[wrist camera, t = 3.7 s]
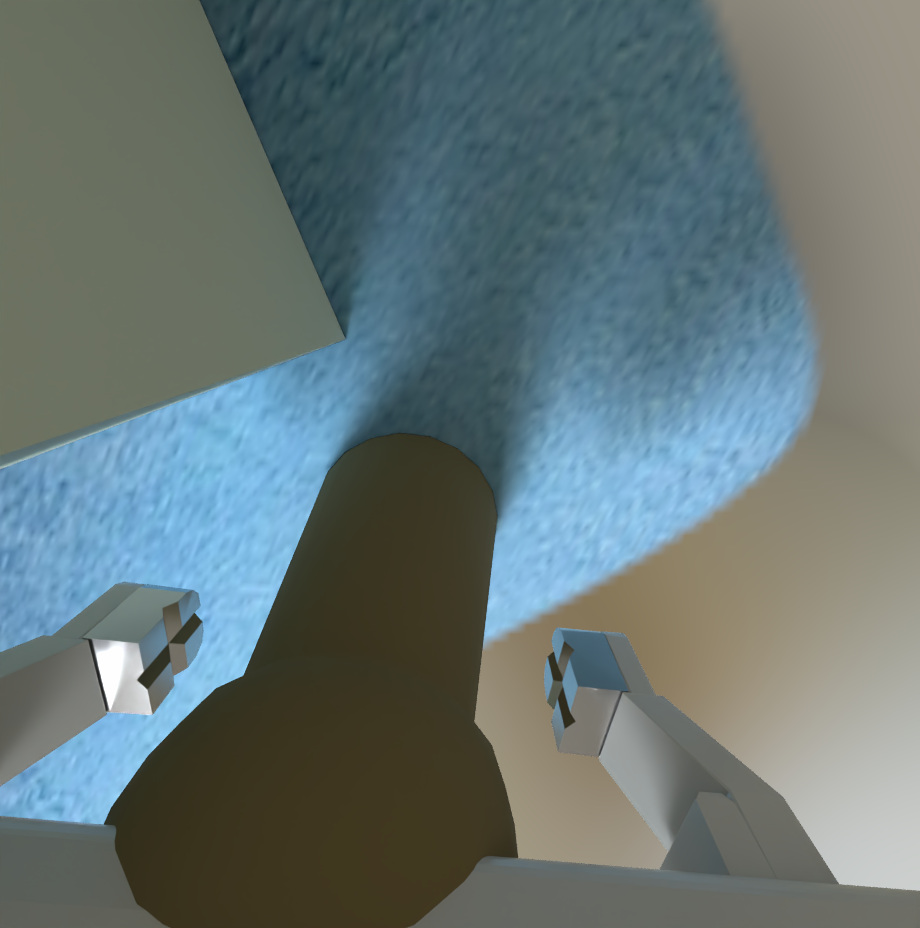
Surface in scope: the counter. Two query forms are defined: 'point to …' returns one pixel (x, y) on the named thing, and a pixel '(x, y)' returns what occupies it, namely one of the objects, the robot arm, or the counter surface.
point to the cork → (340, 722)
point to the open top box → (134, 223)
